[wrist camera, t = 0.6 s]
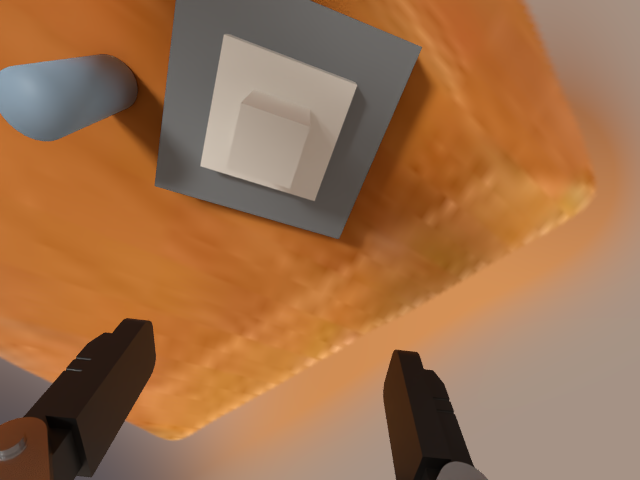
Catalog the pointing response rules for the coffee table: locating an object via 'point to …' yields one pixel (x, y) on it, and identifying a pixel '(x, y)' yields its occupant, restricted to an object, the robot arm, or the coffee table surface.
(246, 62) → the lid
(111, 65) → the peg
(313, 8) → the socket plate
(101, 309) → the coffee table surface
